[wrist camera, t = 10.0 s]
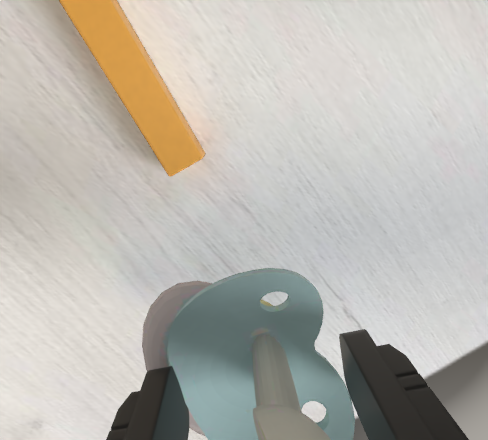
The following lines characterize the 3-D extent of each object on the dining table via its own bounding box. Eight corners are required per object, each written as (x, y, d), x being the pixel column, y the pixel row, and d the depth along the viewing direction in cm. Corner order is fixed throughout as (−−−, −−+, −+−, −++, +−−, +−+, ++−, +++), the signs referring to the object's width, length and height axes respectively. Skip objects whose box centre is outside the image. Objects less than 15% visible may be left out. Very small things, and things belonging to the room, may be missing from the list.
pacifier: (196, 444, 12) (348, 403, 12) (156, 756, 6) (465, 696, 6) (113, 281, 10) (294, 223, 10) (-69, 515, 4) (389, 391, 4)
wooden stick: (18, -84, 13) (-15, -115, 11) (53, -109, 13) (26, -145, 11) (175, 171, 16) (169, 177, 15) (206, 154, 16) (202, 158, 14)
